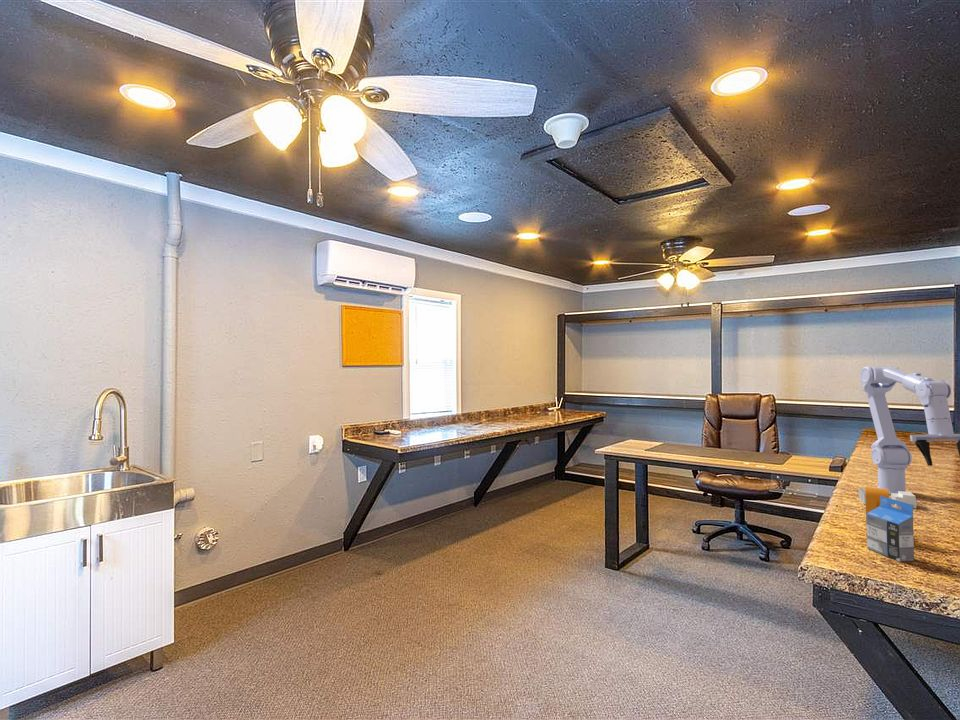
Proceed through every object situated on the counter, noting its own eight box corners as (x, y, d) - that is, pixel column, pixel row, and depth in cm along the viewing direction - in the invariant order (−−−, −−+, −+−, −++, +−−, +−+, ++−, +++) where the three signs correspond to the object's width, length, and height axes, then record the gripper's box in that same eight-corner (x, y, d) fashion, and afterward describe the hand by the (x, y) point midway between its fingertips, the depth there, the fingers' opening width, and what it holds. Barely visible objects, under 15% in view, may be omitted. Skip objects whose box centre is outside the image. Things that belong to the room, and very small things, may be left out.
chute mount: (858, 498, 170) (858, 487, 170) (885, 500, 167) (885, 489, 167) (864, 504, 161) (864, 493, 161) (892, 507, 158) (892, 495, 158)
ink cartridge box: (865, 548, 121) (864, 495, 121) (881, 548, 121) (879, 495, 122) (899, 562, 112) (897, 505, 113) (916, 561, 112) (914, 504, 113)
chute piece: (891, 503, 164) (891, 490, 164) (911, 504, 162) (911, 492, 162) (895, 507, 159) (895, 494, 159) (916, 509, 157) (916, 496, 157)
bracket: (904, 545, 124) (902, 494, 124) (866, 539, 128) (865, 490, 128) (902, 534, 132) (901, 487, 132) (867, 529, 136) (865, 483, 137)
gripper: (911, 419, 156) (919, 465, 153) (974, 417, 149) (984, 465, 146) (905, 421, 162) (913, 465, 159) (966, 420, 155) (975, 466, 152)
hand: (946, 465), depth 153 cm, fingers open, 7 cm apart
